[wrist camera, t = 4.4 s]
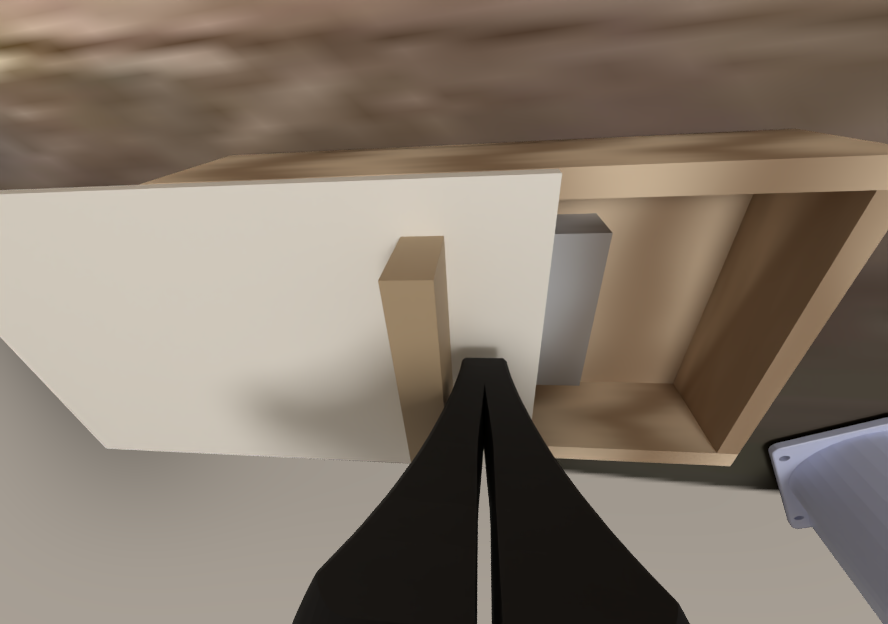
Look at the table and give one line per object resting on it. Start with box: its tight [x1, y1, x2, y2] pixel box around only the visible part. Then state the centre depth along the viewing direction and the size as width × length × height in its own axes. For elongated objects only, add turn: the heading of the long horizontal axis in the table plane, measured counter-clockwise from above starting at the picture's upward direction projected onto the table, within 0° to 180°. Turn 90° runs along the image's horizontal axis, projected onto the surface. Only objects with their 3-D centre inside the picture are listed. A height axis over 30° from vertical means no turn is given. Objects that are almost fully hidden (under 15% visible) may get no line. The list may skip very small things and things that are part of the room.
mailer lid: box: [0, 169, 562, 467], centre depth 12 cm, size 20×12×3 cm, turn 93°
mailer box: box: [140, 129, 888, 466], centre depth 14 cm, size 20×12×4 cm, turn 93°
